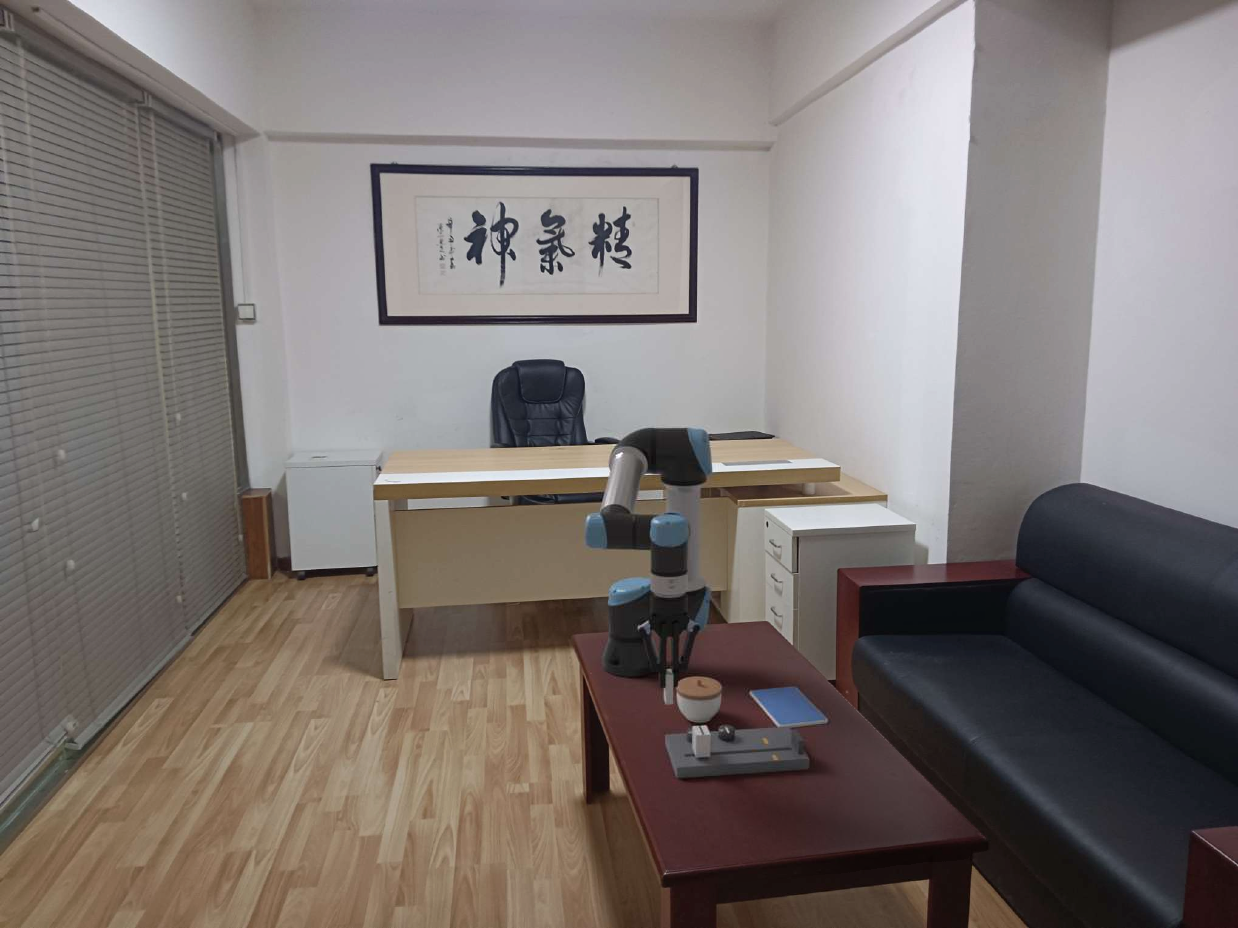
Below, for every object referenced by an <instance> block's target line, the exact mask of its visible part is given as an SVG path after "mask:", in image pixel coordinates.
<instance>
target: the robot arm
mask: <svg viewBox="0 0 1238 928" xmlns="http://www.w3.org/2000/svg"><path fill="white" fill-rule="evenodd" d="M712 461H713V460H712V451H711V443H710V438H709V434H708V431H706V430H705V429H702V428H693V427H692V428H690V427H645V428H640V429H637V430H634V431H632V432H631V433H629V434H627V435H626V436H624V437H623V438H622V439H620V441H619V442H618V443H616V444H615V446H614V447H613V449H612V450H611V453H610V455H609V460H608V467H609V468H608V469H609V475H608V479H607V482H606V487H605V490H604V494H603V498H602V502H601V505H600V509H599V512H596V513H593V512H592V513H590V514H588V515H586V517H585V524H584V540H585V544H586V546H587V547H588V548H590V549H600V550H601V549H602V550H603V551H604V550H635V551H650V578H649V577H637V576H635V577H629V578H624V579H621V580H618V581H616V582H615V583H613V584H612V585H611V587H610V588H609V590H608V602H607V605H608V639H607V643H606V646H605V649H604V652H603V655H602V667H603V669H604V670H605V671H606V672H607V673H610V674H612V675H615V676H619V677H630V678H631V677H633V678H635V677H643V676H647V675H650V674H653V673H655V672H657V673H658V684H659V687H660V688H661V689H663V700H664V703H665V706H668V705H674V688H676V687H678V682H679V674H680V672H681V671H686V670H687V669H688V667H689V663H690V659H691V655H692V651H693V647H694V644H695V640H696V637H697V635H698V634H699V633H700V632H702V631H704V630H705V629H706V627H707V623H708V617H709V611H710V610H709V609H710V604H711V603H710V600H711V594H712V588H711V587H710V586H706V580H705V578H704V577H703V576H701V574H700V573H701V488H702V487H703V486H704V485H705V484H706V483H707V479H708V478H707V477H710V476H712V475H713V462H712ZM645 475H660V483H661V485H663V486H664V487H665V488H666V512H664V513H662V514H640V513H639V514H638V513H636V514H635V512H636V506H637V500H638V496H639V491H640V485H641V481H642V479H643V478H644V476H645ZM654 632H655V633H656V635H657V637H658V650H657V646H656V643H655V641H654V640H655V639H654V637H653V636H654V635H653V633H654ZM683 632H686V636H685V639H684V643H683V648H682V651H681V655H680V636H681V635H682V633H683ZM669 637H670V668H667V643H668V638H669Z"/></svg>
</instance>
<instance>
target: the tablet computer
mask: <svg viewBox="0 0 1238 928" xmlns="http://www.w3.org/2000/svg"><path fill="white" fill-rule="evenodd" d="M749 696H751V698H752V699H753V700H754V701H755V702H756V703H757V704H758V706H759V707H760V708H761V709H762V710H763V711H764V712H765V714H767V716H768V717H769V718H770V720H771V721H772V722H773V723H774V724H775V725H776V727H790V729H792V728H799V727H807V726H817V725H823V724H828V722H829V720H828V718H827V717H826V716H825V715H824V714H823V713H822V712H821V711H820V710H819V709H818V708H817V707H816V706H815V705H814V704H813V703H812V702H811V701H810V700H809V699H808V697H807V696H806V695H804V694H803V692H802V691H800V690H799V688H798V687H796V686H785V687H775V688H773V687H772V688H765V689H756V690H750V691H749Z"/></svg>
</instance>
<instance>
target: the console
mask: <svg viewBox="0 0 1238 928" xmlns="http://www.w3.org/2000/svg"><path fill="white" fill-rule="evenodd" d="M709 732H710V734H711V736H710V757H699V758H696V756H695V754H694V751H693V749H692V726H691V727H688V728H687V729H686V732H685V733H684V732H683V733H669V734H667V733H666V734H664V736H665V737H664V738H665V739H664V740H665V748H666V750H667V753H668V756H669V760H670V763H671V765H672V768H673V772H674V774H675V777H676V779H685V778H700V777H701V778H702V777H714V776H715V777H716V776H726V775H727V776H729V775H743V774H757V773H774V772H787V771H802V770H810V757H809V756H808V753H806V751H805V750H804V739H803V738H802V736H801V735H800V733H799V732H798V730H797V729H792V728H790V727H777V726H776V727H761V728H747V729H746V728H745V729H736V728H735V727H734V726H732V725H729V724H722V725H720V726H719V727H718V729H717V731H714V730H713V731H709Z"/></svg>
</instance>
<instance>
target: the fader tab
mask: <svg viewBox="0 0 1238 928" xmlns="http://www.w3.org/2000/svg"><path fill="white" fill-rule="evenodd" d="M691 727H692V749H693V751H694V754H695V756H696V758H699V757H710V736H711V734H710V732H711V731H710V730H709V727H708V726H707V725H693V726H691Z"/></svg>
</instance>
